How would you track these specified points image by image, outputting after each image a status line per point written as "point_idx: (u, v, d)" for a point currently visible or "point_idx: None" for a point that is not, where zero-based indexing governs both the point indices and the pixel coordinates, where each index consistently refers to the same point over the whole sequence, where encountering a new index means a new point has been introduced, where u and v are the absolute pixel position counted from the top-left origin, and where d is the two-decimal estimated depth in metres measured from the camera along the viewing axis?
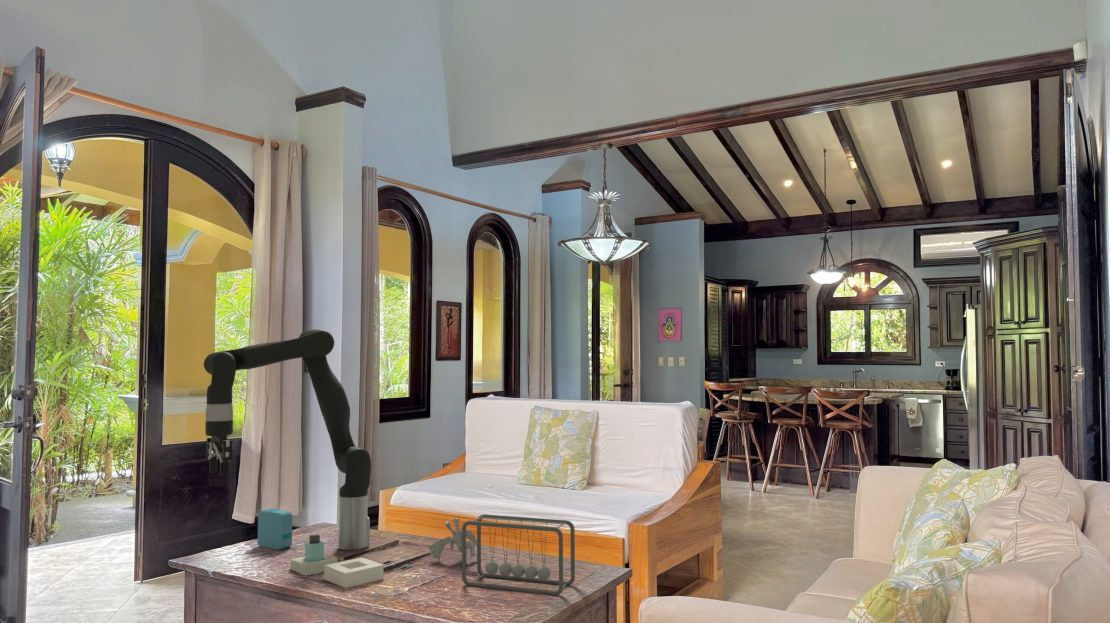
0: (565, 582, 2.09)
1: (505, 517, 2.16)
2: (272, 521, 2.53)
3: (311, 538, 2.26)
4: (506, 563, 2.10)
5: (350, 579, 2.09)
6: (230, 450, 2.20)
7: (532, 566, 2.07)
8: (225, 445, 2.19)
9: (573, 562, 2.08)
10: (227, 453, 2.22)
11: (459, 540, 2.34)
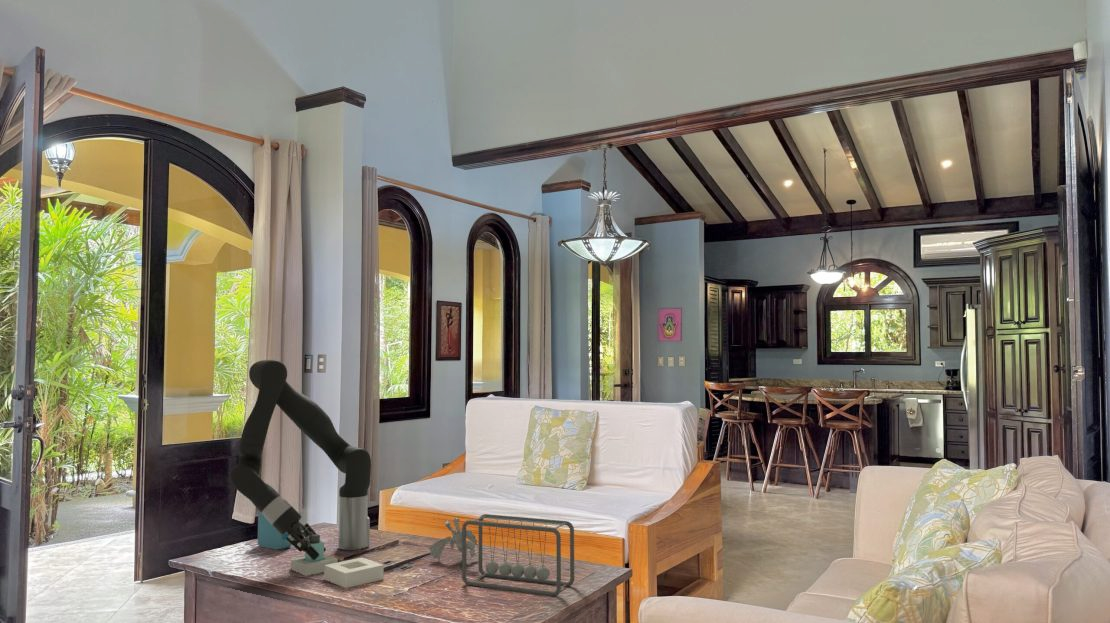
0: (565, 583, 2.08)
1: (506, 517, 2.16)
2: None
3: (311, 538, 2.26)
4: (506, 563, 2.10)
5: (350, 579, 2.09)
6: (298, 541, 2.21)
7: (531, 566, 2.07)
8: (290, 541, 2.21)
9: (572, 563, 2.07)
10: (304, 540, 2.24)
11: (459, 540, 2.34)
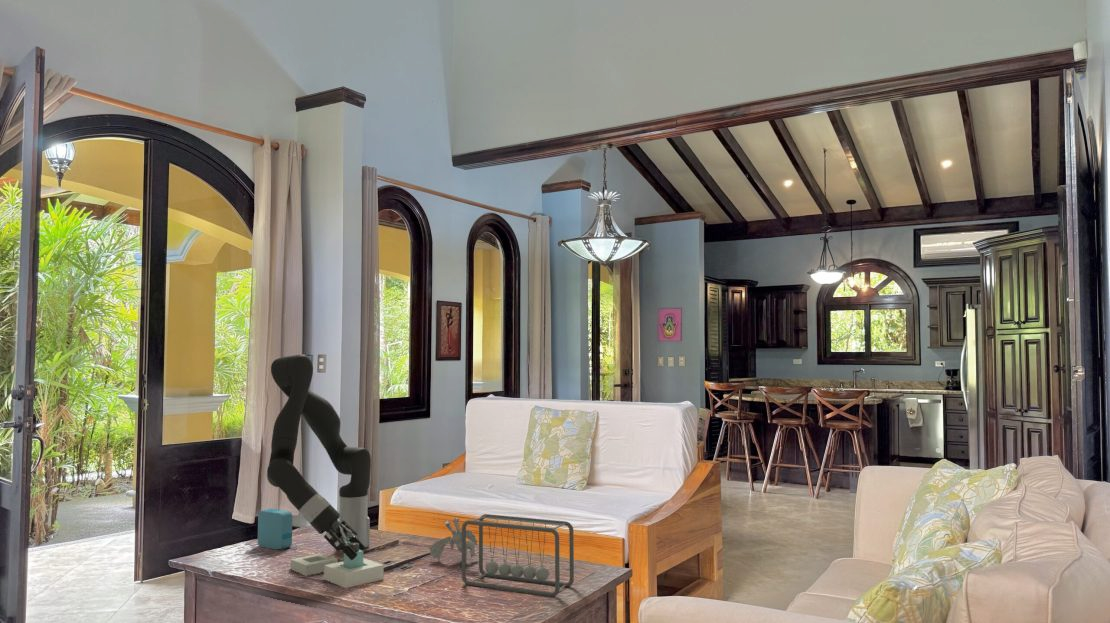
0: (564, 583, 2.07)
1: (506, 517, 2.16)
2: (272, 521, 2.53)
3: None
4: (505, 563, 2.10)
5: (350, 579, 2.09)
6: (335, 539, 2.10)
7: (530, 567, 2.07)
8: (328, 538, 2.10)
9: (572, 563, 2.07)
10: (342, 539, 2.13)
11: (459, 540, 2.34)
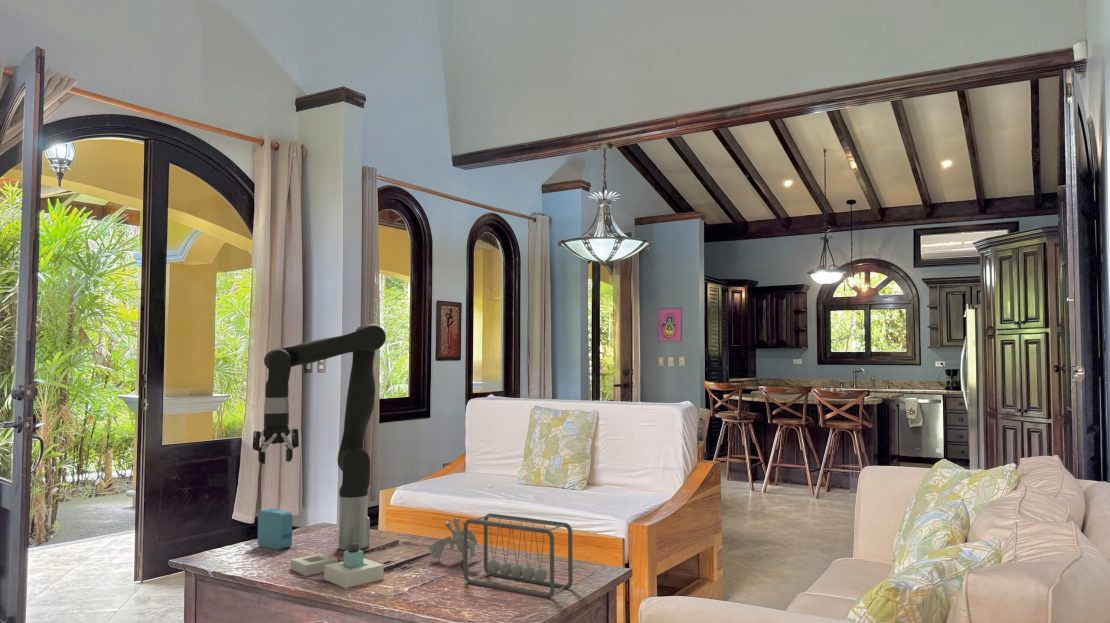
0: (563, 585, 2.06)
1: (508, 517, 2.17)
2: (272, 521, 2.53)
3: (350, 547, 2.15)
4: (506, 563, 2.10)
5: (350, 579, 2.09)
6: (255, 441, 2.36)
7: (529, 567, 2.06)
8: (254, 435, 2.38)
9: (570, 565, 2.05)
10: (264, 444, 2.38)
11: (459, 540, 2.34)
